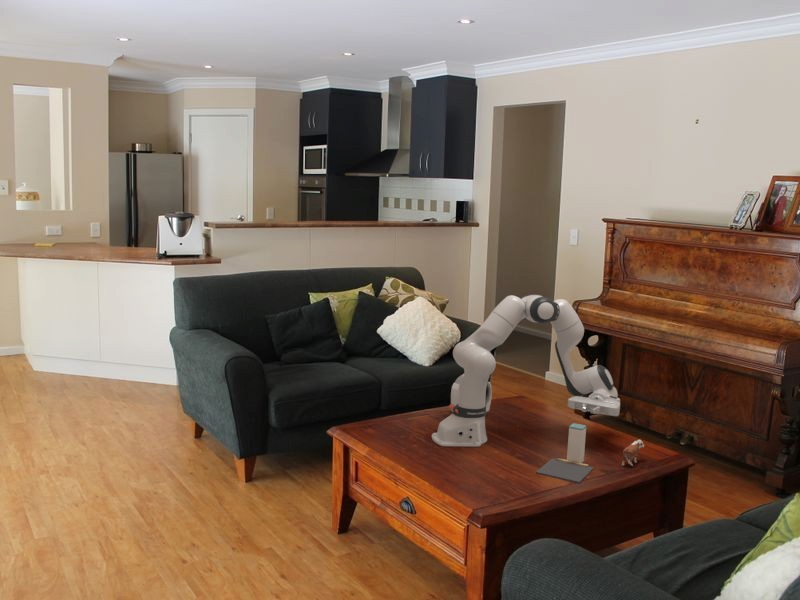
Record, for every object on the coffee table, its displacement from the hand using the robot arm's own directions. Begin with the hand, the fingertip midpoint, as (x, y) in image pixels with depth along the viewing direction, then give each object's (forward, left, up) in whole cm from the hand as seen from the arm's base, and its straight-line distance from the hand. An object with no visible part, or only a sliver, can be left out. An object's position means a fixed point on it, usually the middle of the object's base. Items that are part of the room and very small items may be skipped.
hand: (588, 410), depth 300 cm
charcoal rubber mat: (-17, -16, -17) cm, 29 cm away
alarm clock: (-29, +52, -17) cm, 61 cm away
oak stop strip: (-11, -11, -17) cm, 23 cm away
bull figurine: (+12, -13, -17) cm, 25 cm away
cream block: (-9, -8, -17) cm, 21 cm away
